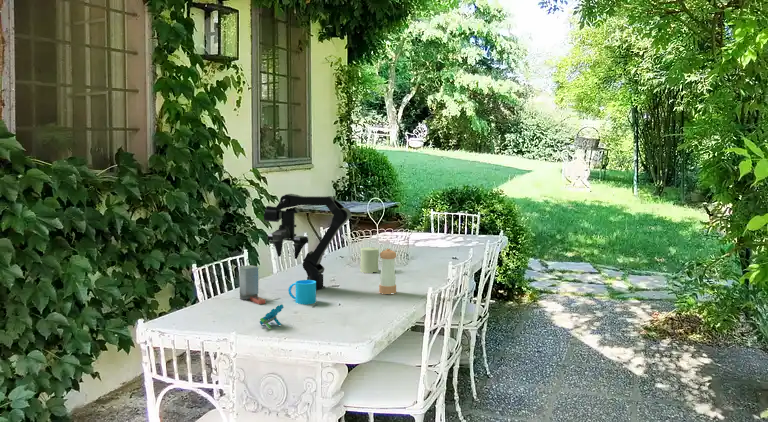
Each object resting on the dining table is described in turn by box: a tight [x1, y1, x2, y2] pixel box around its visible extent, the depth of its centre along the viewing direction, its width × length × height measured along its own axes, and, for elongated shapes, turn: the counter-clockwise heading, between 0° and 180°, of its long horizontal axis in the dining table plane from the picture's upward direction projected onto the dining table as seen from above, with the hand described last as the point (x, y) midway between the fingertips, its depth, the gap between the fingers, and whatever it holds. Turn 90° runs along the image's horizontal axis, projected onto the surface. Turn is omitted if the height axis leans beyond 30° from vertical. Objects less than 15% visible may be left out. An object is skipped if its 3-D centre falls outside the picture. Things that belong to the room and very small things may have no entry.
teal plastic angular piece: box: [259, 304, 285, 329], centre depth 224 cm, size 11×6×10 cm
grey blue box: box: [238, 264, 259, 296], centre depth 262 cm, size 6×6×11 cm
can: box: [359, 246, 379, 274], centre depth 321 cm, size 9×9×12 cm
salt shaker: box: [378, 248, 397, 295], centre depth 274 cm, size 7×7×19 cm
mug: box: [288, 279, 317, 305], centre depth 259 cm, size 12×8×8 cm
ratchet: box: [239, 292, 266, 305], centre depth 260 cm, size 7×15×5 cm, turn 38°
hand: (287, 257), depth 284 cm, fingers open, 9 cm apart
